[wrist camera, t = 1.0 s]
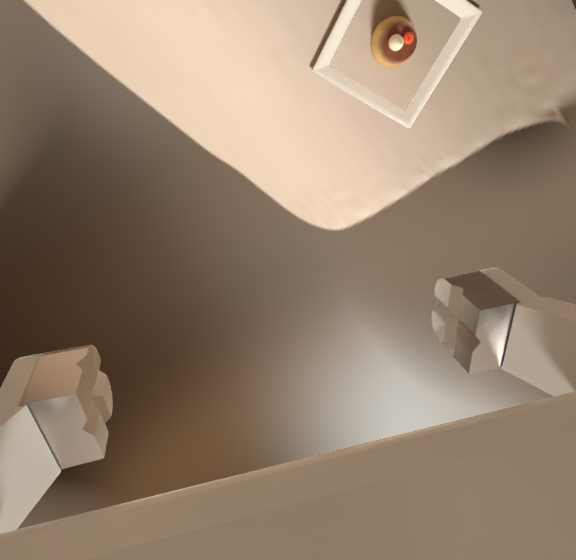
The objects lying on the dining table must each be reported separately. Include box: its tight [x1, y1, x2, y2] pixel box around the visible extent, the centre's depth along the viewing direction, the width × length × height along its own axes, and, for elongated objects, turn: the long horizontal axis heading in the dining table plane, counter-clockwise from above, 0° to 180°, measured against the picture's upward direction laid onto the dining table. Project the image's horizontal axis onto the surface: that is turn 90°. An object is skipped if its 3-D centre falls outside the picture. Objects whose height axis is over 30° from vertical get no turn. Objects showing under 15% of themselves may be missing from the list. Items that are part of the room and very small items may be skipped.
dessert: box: [312, 0, 482, 128], centre depth 41 cm, size 12×12×5 cm
